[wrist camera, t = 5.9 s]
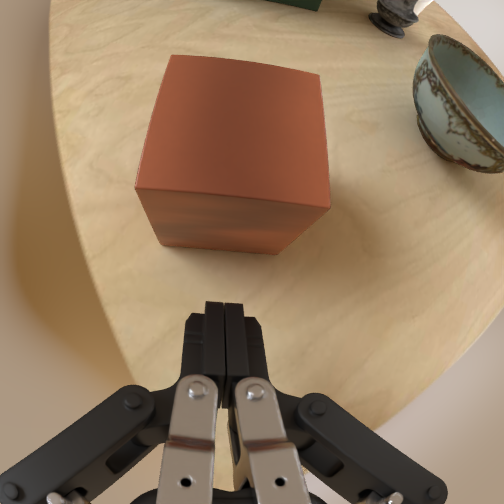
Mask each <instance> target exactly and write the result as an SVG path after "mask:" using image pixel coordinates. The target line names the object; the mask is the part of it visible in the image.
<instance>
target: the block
mask: <svg viewBox="0 0 504 504" xmlns="http://www.w3.org/2000/svg"><path fill="white" fill-rule="evenodd" d="M135 190H136V192H137V195H138V197H139V199H140V201H141V204H142V206H143V208H144V210H145V213H146V215H147V217H148V219H149V221H150V224H151V226H152V228H153V230H154V232H155V234H156V236H157V239H158V241H159V243H160V244H161V245H168V246H180V247H191V248H203V249H214V250H226V251H237V252H249V253H260V254H272V255H278V254H279V253H280V252H281V251H282V250H283V249H285V248H286V247H287V246H288V245H289V244H290V243H291V242H293V241H294V240H295V239H296V238H297V237H298V236H300V235H301V234H302V233H303V232H304V231H305V230H306V229H308V228H309V227H310V226H311V225H312V224H313V223H314V222H316V221H317V220H318V219H319V218H320V217H321V216H322V215H324V214H325V213H326V212H327V211H328V210H329V209H330V208H331V204H330V183H329V167H328V152H327V140H326V128H325V118H324V108H323V99H322V90H321V82H320V76H319V75H317V74H313V73H309V72H304V71H300V70H295V69H290V68H285V67H280V66H274V65H268V64H262V63H256V62H249V61H242V60H234V59H225V58H215V57H204V56H189V55H171V57H170V59H169V62H168V65H167V68H166V71H165V74H164V77H163V80H162V83H161V86H160V89H159V93H158V96H157V99H156V103H155V106H154V109H153V113H152V116H151V120H150V124H149V127H148V131H147V135H146V139H145V143H144V147H143V151H142V155H141V160H140V164H139V168H138V173H137V178H136V182H135Z"/></svg>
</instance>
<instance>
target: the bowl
mask: <svg viewBox="0 0 504 504" xmlns="http://www.w3.org/2000/svg"><path fill="white" fill-rule="evenodd" d="M413 98H414V103H415V107H416V110H417V113H418V115H417V123H418V126H419V129H420V132H421V134H422V136H423V138H424V139H425V141H426V142H427V144H428V145H429V146H430V147H431V149H432V150H433V151H434V152H435V153H437V154H438V155H439V156H441V157H442V158H444V159H446V160H448V161H453V162H456V163H458V164H459V165H461V166H463V167H465V168H468V169H470V170H473V171H476V172H481V173H490V174H491V173H501V172H504V83H503V81H502V80H501V79H500V78H499V77H498V75H497V74H496V73H495V72H494V71H493V70H492V68H491V67H490V66H489V65H488V64H487V63H486V62H484V61H483V60H482V59H481V58H480V57H479V56H478V55H477V54H475V53H474V52H473V51H472V50H471V49H469V48H468V47H466V46H465V45H463V44H462V43H460V42H458V41H456V40H455V39H453V38H450V37H448V36H446V35H440V34H436V35H433V36H431V38H430V40H429V46H428V47H427V49H426V51H425V52H424V54H423V55H422V57H421V59H420V60H419V62H418V65H417V67H416V70H415V74H414V79H413Z"/></svg>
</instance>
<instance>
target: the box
mask: <svg viewBox="0 0 504 504" xmlns="http://www.w3.org/2000/svg"><path fill="white" fill-rule="evenodd" d="M267 1H272V2H278V3H283V4H288V5H292V6H297V7H301V8H305V9H309V10H313V11H318V8H319V6H320V4H321V1H322V0H267Z"/></svg>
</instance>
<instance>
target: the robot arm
mask: <svg viewBox="0 0 504 504" xmlns="http://www.w3.org/2000/svg"><path fill="white" fill-rule="evenodd" d="M221 401H222V408H224V409H228V423H227V429H228V436H229V443H230V450H231V456H232V463H233V482H234V489H235V491H233V492H229V491H224V490H220V489H215V488H213V475H214V457H215V430H216V418H217V411H218V408H220V405H221ZM161 443H165V445H164V450H163V457H162V463H161V471H160V477H159V485H158V488H157V489H153V490H150V491H148V492H146V493H144V494H142V495H140V496H139V497H137V498H136V499H135V500H134V501H132V502H131V503H130V504H327V503H326V502H325V501H323V500H322V499H321V498H319V497H317V496H316V495H314V494H312V493H310V492H308V489H307V485H306V482H305V478H304V474H303V470H302V467H301V465H303V466H304V467H305V468H306V469H307V470H309V471H310V472H311V473H312V474H313V475H315V476H316V477H317V478H319V479H320V480H321V481H322V482H323V483H325V484H326V485H327V486H329V487H330V488H331V489H332V490H334V491H335V492H336V493H338V494H339V495H341V496H342V497H343V498H344V499H346V500H347V501H349V502H350V503H351V504H444V503H445V501H446V499H447V495H448V491H447V486H446V484H445V483H444V482H443V481H442V480H441V479H440V478H438V477H437V476H435V475H434V474H432V473H431V472H429V471H428V470H426V469H425V468H423V467H422V466H420V465H419V464H417V463H416V462H415V461H413V460H412V459H410V458H409V457H408V456H406V455H405V454H403V453H402V452H400V451H399V450H398V449H396V448H395V447H393V446H392V445H391V444H389V443H388V442H387V441H385V440H384V439H382V438H381V437H380V436H378V435H377V434H376V433H374V432H373V431H372V430H370V429H369V428H368V427H366V426H365V425H364V424H362V423H361V422H360V421H358V420H357V419H356V418H355V417H353V416H352V415H351V414H349V413H348V412H347V411H345V410H344V409H343V408H342V407H340V406H339V405H338V404H337V403H335V402H334V401H333V400H332V399H330V398H329V397H327V396H326V395H324V394H320V393H310V394H307V395H305V396H304V397H302V398H298V397H295V396H291V395H287V394H284V393H282V392H280V391H278V390H277V389H276V388H275V387H274V386H273V385H272V384H271V382H270V380H269V376H268V370H267V363H266V356H265V349H264V343H263V336H262V329H261V326H260V324H259V323H258V321H257V320H256V318H255V317H244V311H243V304H239V303H223V302H210V301H206V303H205V314H200V313H191V315H190V316H189V318H188V319H187V320H186V323H185V333H184V343H183V353H182V364H181V374H180V377H179V379H178V381H177V382H176V383H175V384H174V385H173V386H171V387H169V388H167V389H163V390H158V391H153V392H149V391H148V390H147V389H146V388H144V387H142V386H139V385H127V386H124V387H122V388H120V389H119V390H118V391H116V392H115V393H114V394H112V395H111V396H110V397H108V398H107V399H106V400H104V401H103V402H102V403H100V404H99V405H97V406H96V407H95V408H93V409H92V410H91V411H89V412H88V413H87V414H85V415H84V416H83V417H81V418H80V419H79V420H77V421H76V422H74V423H73V424H72V425H70V426H69V427H68V428H66V429H65V430H63V431H62V432H61V433H59V434H58V435H56V436H55V437H54V438H52V439H51V440H50V441H48V442H47V443H45V444H44V445H43V446H41V447H40V448H38V449H37V450H36V451H34V452H33V453H31V454H30V455H28V456H27V457H25V458H24V459H23V460H21V461H20V462H18V463H17V464H16V465H14V466H13V467H11V468H10V469H8V470H7V471H5V472H4V473H2V474H1V475H0V503H1V504H91V503H90V502H91V501H92V500H93V499H95V498H96V497H97V496H98V495H100V494H101V493H102V492H103V491H105V490H106V489H107V488H108V487H110V486H111V485H112V484H113V483H115V482H116V481H117V480H118V479H119V478H121V477H122V476H123V475H124V474H125V473H126V472H128V471H129V470H130V469H131V468H132V467H134V466H135V465H136V464H137V463H138V462H139V461H141V460H142V459H143V458H144V457H145V456H146V455H147V454H148V453H150V452H151V451H152V450H153V449H154V448H155V447H156V446H157V445H158V444H161Z"/></svg>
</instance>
